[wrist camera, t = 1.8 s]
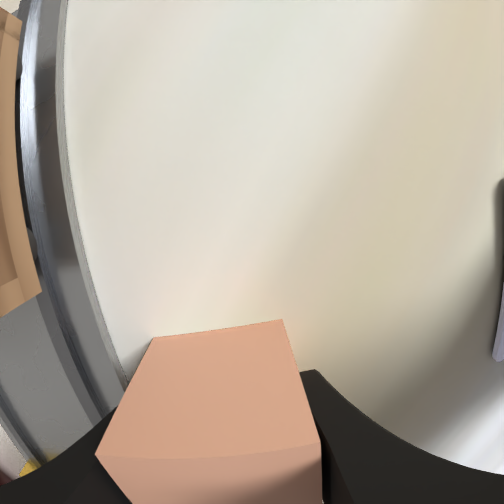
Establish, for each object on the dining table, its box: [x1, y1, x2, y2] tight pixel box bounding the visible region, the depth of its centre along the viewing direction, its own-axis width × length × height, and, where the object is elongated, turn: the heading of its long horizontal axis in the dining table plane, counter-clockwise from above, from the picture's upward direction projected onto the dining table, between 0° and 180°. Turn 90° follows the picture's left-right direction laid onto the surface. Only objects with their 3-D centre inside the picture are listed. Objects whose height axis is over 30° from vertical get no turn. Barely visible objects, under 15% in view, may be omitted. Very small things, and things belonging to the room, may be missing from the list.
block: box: [95, 319, 322, 504], centre depth 7 cm, size 4×4×5 cm
